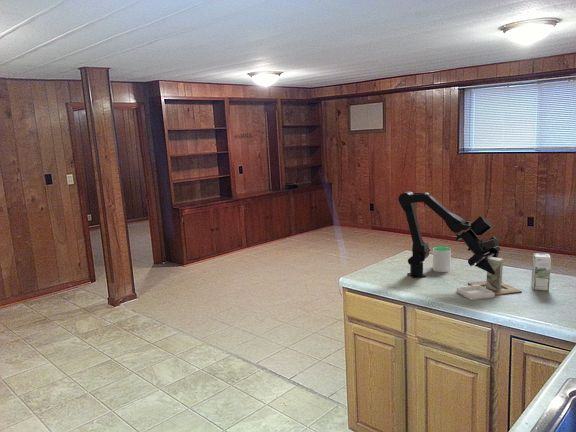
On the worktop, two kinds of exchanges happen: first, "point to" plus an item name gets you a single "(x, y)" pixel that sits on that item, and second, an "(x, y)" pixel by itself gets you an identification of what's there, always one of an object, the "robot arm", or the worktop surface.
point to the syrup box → (541, 271)
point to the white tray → (475, 292)
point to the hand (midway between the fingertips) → (497, 272)
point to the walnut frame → (507, 290)
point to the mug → (441, 259)
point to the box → (496, 279)
